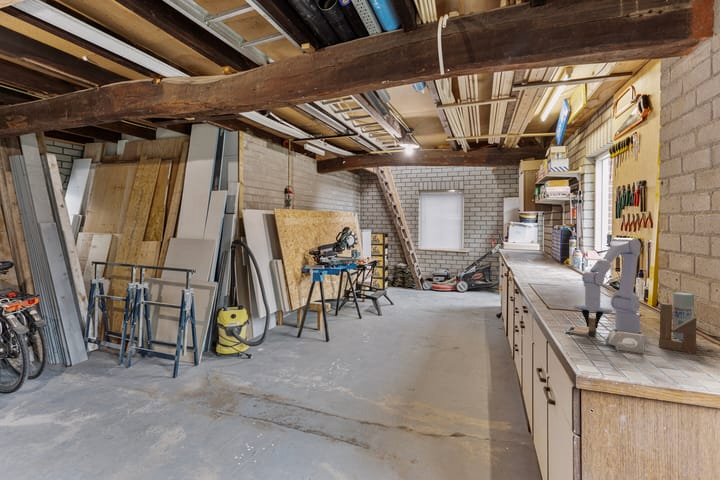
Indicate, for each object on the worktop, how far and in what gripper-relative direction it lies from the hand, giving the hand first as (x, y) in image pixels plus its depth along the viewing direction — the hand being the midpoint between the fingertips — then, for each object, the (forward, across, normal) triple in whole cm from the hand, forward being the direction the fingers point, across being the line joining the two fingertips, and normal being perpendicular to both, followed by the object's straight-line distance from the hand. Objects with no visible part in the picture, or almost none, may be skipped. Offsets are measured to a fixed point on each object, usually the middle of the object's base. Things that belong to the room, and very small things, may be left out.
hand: (592, 327), depth 154 cm
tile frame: (+3, -5, 0) cm, 6 cm away
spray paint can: (+4, +31, +17) cm, 36 cm away
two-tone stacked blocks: (+3, 0, 0) cm, 4 cm away
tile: (+4, -4, 0) cm, 6 cm away
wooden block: (+4, +28, -1) cm, 29 cm away
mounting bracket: (+4, +12, -14) cm, 19 cm away
